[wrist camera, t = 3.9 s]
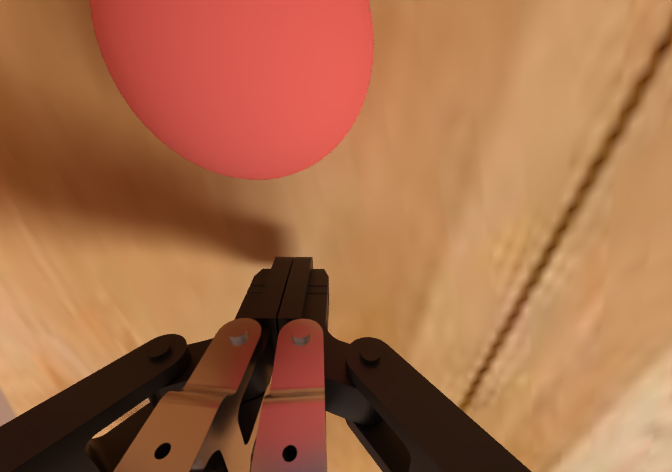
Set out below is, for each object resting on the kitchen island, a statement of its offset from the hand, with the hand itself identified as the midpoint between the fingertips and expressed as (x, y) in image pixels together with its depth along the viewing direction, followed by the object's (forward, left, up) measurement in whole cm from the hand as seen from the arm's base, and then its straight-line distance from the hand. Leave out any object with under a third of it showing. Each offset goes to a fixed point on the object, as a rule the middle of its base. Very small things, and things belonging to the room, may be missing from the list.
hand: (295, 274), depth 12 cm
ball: (-2, -7, +2) cm, 8 cm away
